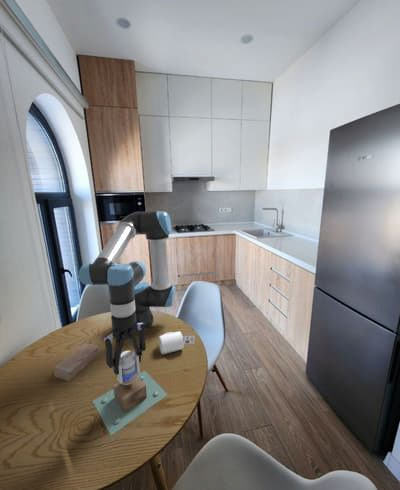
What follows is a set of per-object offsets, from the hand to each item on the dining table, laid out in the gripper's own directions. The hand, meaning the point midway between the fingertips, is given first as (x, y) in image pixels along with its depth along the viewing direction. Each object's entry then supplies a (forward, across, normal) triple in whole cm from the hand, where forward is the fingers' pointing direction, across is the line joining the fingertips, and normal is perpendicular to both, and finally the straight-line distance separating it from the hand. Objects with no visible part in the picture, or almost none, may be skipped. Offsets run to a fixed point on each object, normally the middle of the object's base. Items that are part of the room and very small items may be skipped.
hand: (128, 375), depth 74 cm
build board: (+10, 0, 0) cm, 10 cm away
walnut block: (+9, 0, 0) cm, 9 cm away
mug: (+10, -27, -14) cm, 32 cm away
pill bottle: (+2, 0, -1) cm, 2 cm away
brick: (+11, +8, -33) cm, 35 cm away
